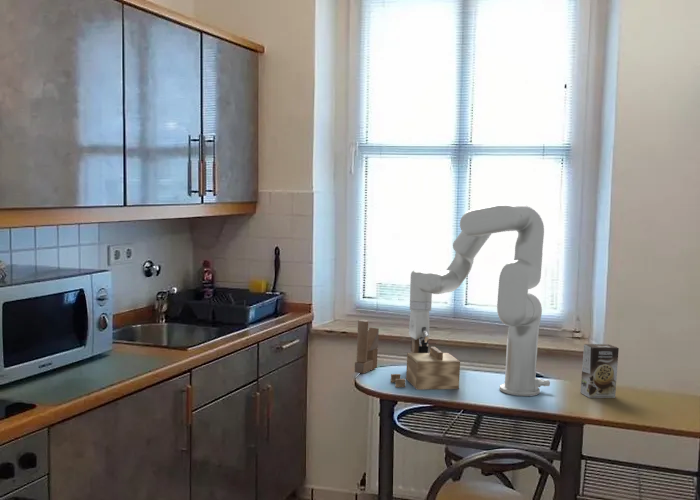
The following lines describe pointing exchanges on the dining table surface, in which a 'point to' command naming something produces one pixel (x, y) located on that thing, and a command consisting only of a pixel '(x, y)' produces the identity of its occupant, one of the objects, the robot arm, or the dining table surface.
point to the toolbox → (430, 374)
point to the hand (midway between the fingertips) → (419, 354)
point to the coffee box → (599, 370)
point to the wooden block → (366, 347)
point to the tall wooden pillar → (415, 345)
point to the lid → (432, 356)
